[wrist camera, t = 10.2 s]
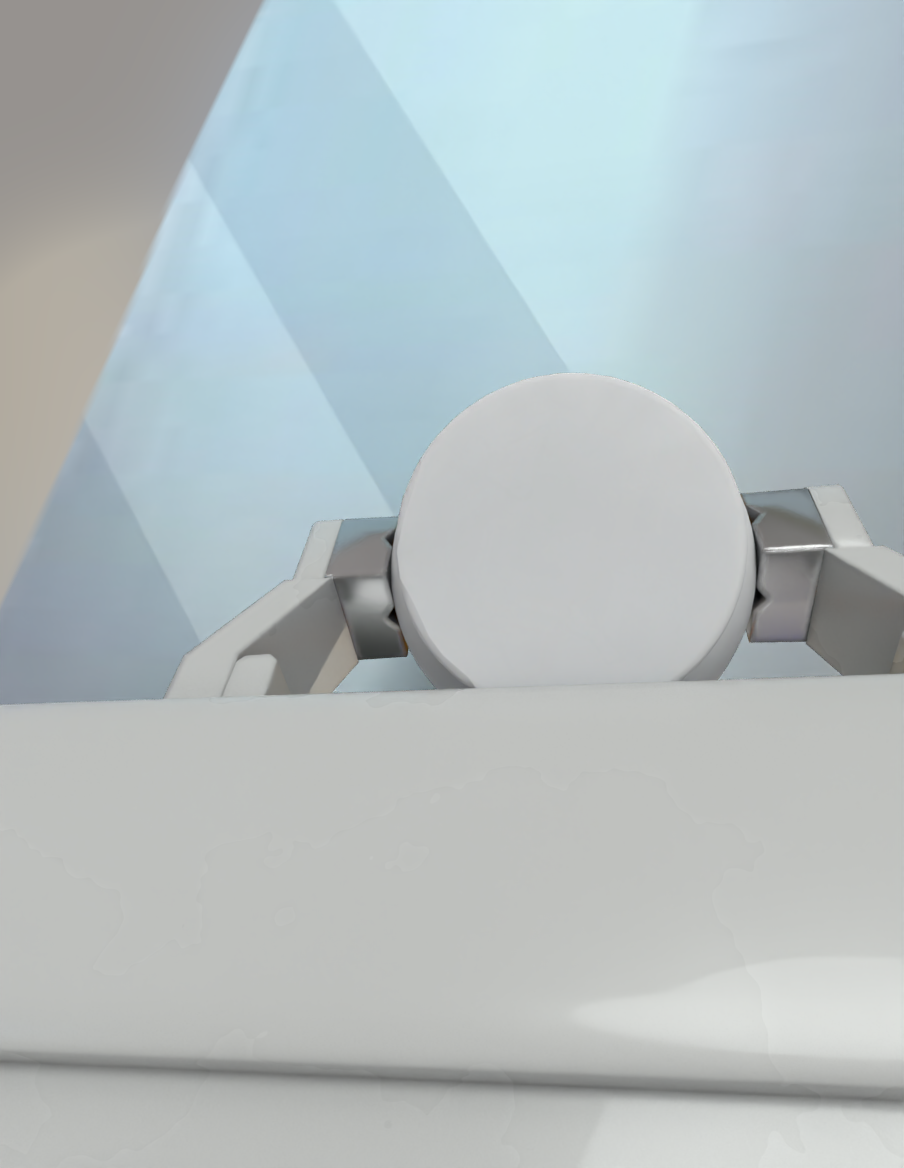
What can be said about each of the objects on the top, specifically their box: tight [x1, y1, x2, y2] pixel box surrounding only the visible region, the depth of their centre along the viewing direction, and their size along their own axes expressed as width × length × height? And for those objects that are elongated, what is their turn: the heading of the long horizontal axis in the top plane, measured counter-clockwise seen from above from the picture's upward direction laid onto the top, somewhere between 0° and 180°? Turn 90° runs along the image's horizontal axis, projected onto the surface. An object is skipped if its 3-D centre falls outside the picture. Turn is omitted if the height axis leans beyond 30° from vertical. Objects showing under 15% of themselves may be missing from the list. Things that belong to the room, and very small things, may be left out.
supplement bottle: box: [391, 373, 756, 689], centre depth 14 cm, size 5×5×10 cm
